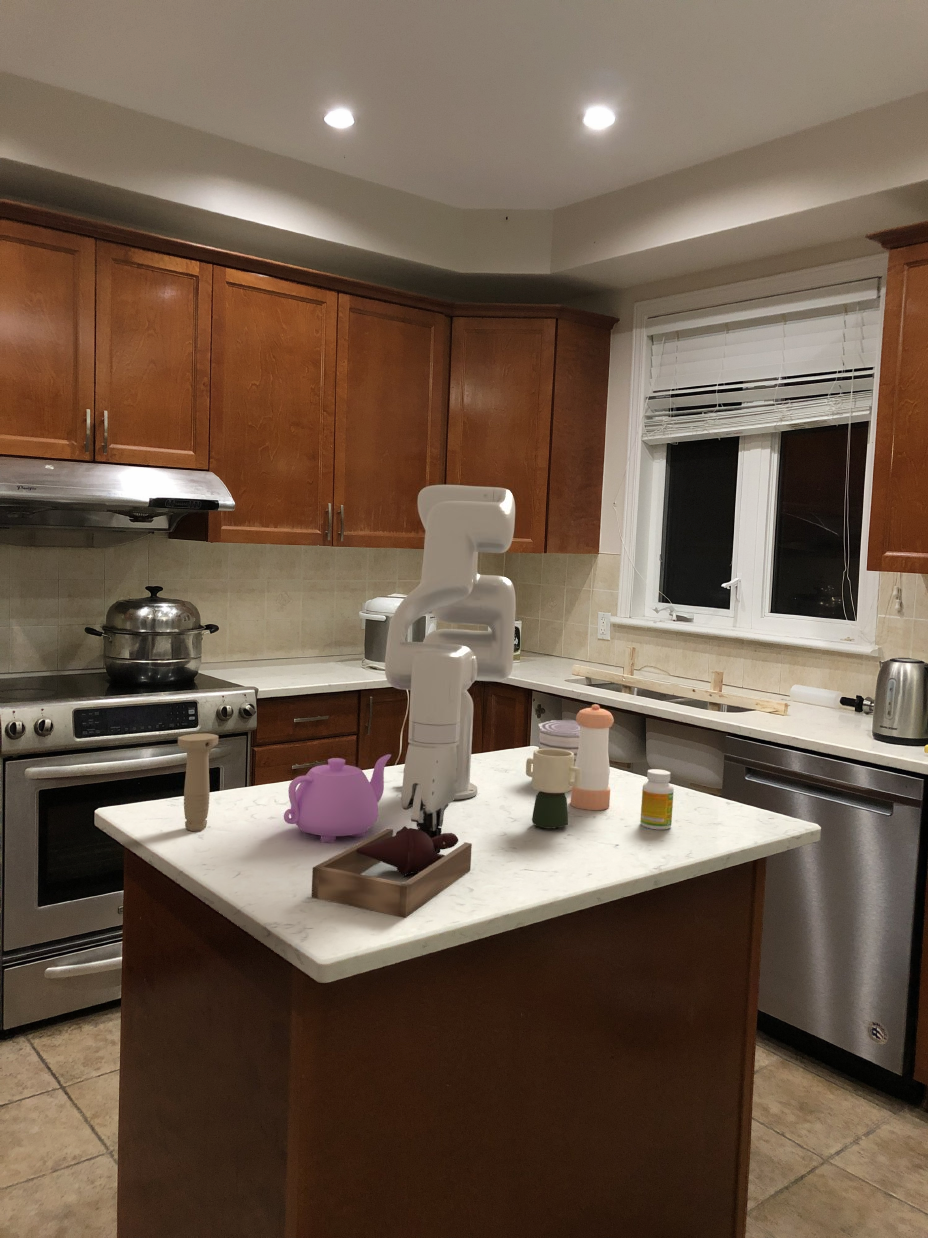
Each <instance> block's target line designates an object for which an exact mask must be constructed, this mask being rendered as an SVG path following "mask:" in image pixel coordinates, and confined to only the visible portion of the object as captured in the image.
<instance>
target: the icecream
mask: <svg viewBox="0 0 928 1238" xmlns="http://www.w3.org/2000/svg"><path fill="white" fill-rule="evenodd" d="M458 843H459V838H458V836H457V835H456V834H455V833H452V832H446V833H444V832H443V833H441V834H440V836H436V837H434V838H432V839H431V838H430V837H429V836H428V835H427V833H425V832H423V831H422V830H419V829H418V828H415V827H414V828H412V827H409V828H408V827H407V826H403V827H402V828H401V829H399V830H398V831H396V833H395V835H393V836H392V837H389V838H386V839H383V840H380V841H377V842H374V843H371V844H369V845H366V846H363V847H360V848H357V853H360V854H362V855H365V856H368V857H371V858H373V859H376V860H378V861H381V862H380V863H384V864H386V865H389V866H391V867H394V868H396V870H397V871H396V872H398V873H399V874H401V875H402V876H403V877H406V875H409V874H411V875H412V874H414V873H415V874H416V873H417V874H418V873H420V872H421V871H423V870H424V869H426V868H427V867H429V866H430V865H432V864H433V863H435V862H436V861H438V860H439V859H441V858H442V857H444V856H446V855H447V854H446V855H445V854H441V853H439V854H437V852H436V851H435V848H436V849H441V850H442V851H443V850H448V849H452V848H454V847H455V846H456V845H458ZM441 850H440V851H441Z"/></svg>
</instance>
